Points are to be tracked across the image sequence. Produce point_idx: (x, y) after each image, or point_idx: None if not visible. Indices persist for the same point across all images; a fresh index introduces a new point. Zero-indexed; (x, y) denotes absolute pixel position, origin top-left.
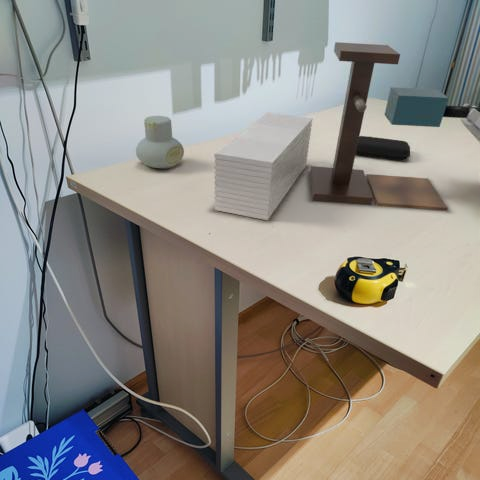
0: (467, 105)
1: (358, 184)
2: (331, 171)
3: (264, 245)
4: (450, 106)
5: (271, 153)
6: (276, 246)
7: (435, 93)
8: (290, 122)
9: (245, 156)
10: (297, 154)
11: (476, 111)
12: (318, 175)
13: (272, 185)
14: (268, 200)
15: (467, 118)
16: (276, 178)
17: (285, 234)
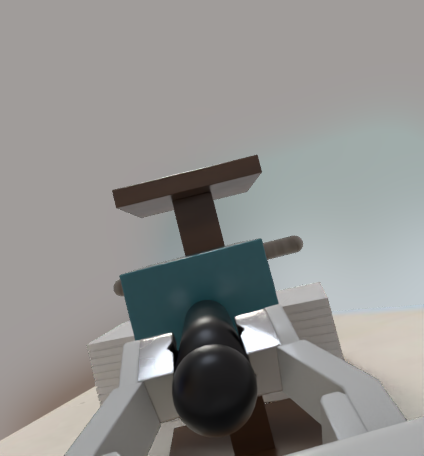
0: (239, 315)
1: None
2: (304, 417)
3: (36, 442)
4: (194, 307)
5: (120, 335)
6: (28, 451)
7: (185, 257)
8: (278, 300)
9: (111, 331)
10: None
11: (124, 357)
12: (268, 410)
13: (102, 376)
14: (99, 394)
15: (303, 407)
16: (117, 370)
17: (58, 449)
